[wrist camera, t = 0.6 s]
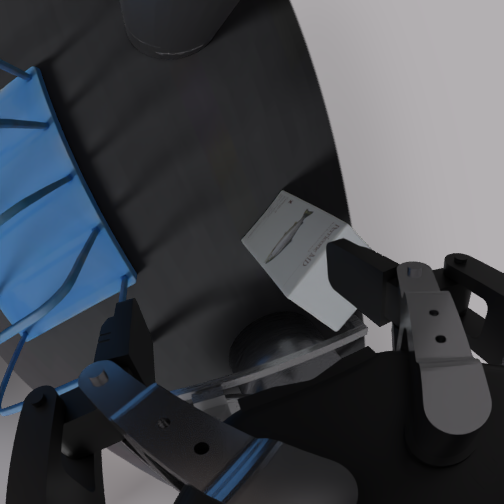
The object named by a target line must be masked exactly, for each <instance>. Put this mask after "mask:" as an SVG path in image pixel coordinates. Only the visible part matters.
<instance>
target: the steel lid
mask: <svg viewBox="0 0 504 504" xmlns="http://www.w3.org/2000/svg"><path fill="white" fill-rule="evenodd" d="M248 395H251V394H228V395H224V392H223V389H222V387H221V386H220V387H216V388H213V389H209V390H206V391H202V392H199V393H195V394H191V396H192V400H193V406H194V407H196V408H198V409H200V410H202V411H203V412H205V413H207V414H209V415H211V416H212V417H214V418H216V419H218V420H220V421H222V422H223V421H224V420H226V419H227V418H228V417H229V416H231V415H232V414H234V413H235V412H237V411H239V410H240V406H239V404H238V401H237V399H239V398H242V397H245V396H248Z"/></svg>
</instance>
